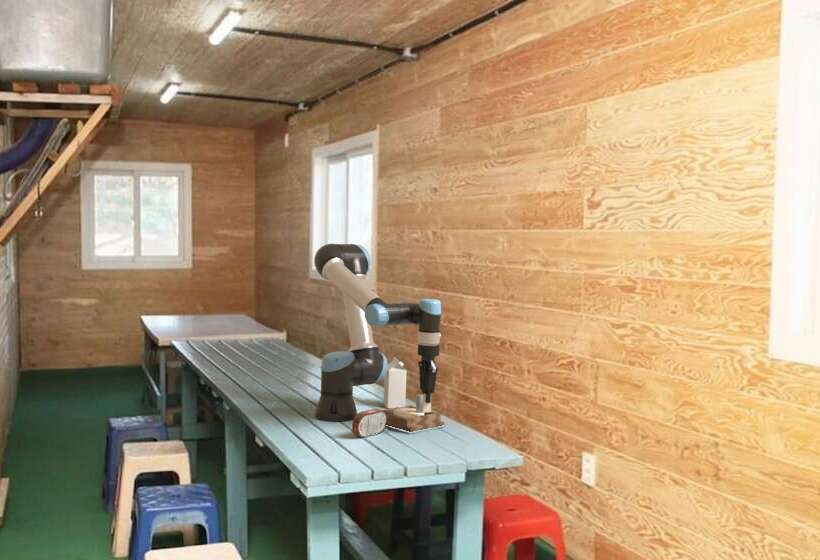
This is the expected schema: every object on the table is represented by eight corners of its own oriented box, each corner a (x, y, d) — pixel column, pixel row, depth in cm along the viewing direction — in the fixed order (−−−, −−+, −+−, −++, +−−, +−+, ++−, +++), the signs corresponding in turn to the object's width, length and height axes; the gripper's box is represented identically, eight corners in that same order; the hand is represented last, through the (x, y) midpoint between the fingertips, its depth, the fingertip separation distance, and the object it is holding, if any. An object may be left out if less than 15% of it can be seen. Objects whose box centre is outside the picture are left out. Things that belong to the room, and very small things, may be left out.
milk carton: (387, 408, 294) (389, 360, 293) (383, 404, 301) (384, 357, 300) (405, 408, 296) (407, 359, 295) (400, 404, 303) (402, 357, 302)
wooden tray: (410, 434, 257) (411, 420, 257) (373, 422, 272) (373, 409, 272) (444, 427, 268) (444, 414, 268) (406, 416, 283) (406, 403, 282)
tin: (381, 430, 261) (382, 406, 261) (388, 432, 259) (389, 407, 259) (350, 438, 250) (351, 413, 249) (357, 440, 248) (358, 414, 247)
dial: (391, 421, 265) (392, 397, 264) (394, 413, 276) (395, 390, 275) (423, 422, 264) (424, 398, 264) (424, 415, 275) (425, 392, 274)
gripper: (446, 346, 257) (443, 415, 259) (432, 341, 270) (429, 407, 271) (425, 346, 255) (422, 416, 256) (412, 341, 267) (409, 407, 268)
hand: (426, 411), depth 264 cm, fingers closed
